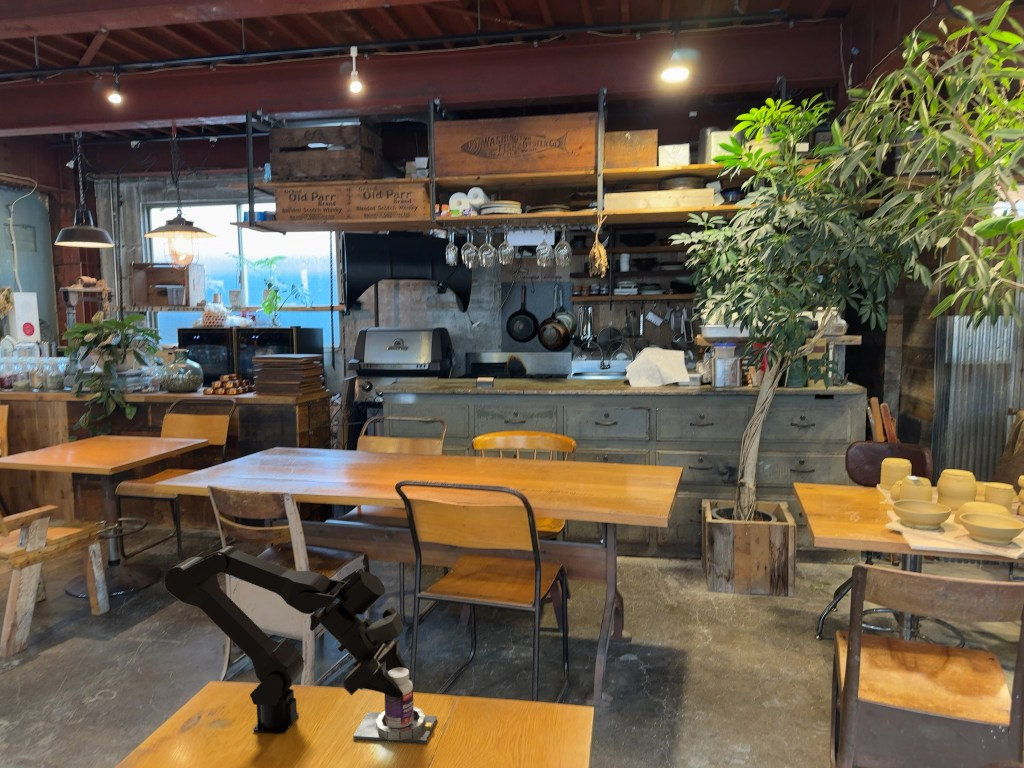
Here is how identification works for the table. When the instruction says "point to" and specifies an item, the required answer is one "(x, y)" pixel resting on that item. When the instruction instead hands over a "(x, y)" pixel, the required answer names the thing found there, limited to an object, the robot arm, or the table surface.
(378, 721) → the collar
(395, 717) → the pill bottle
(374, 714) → the plate
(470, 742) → the table surface
